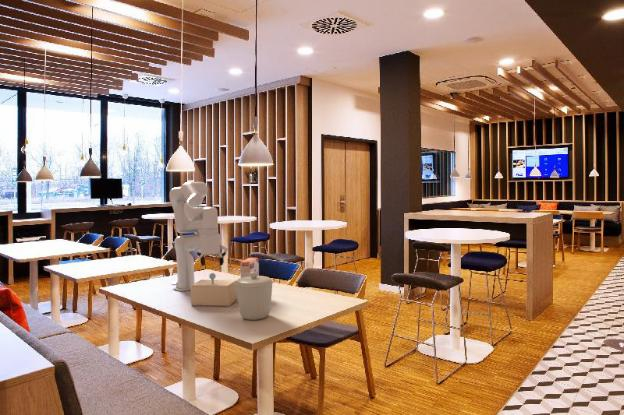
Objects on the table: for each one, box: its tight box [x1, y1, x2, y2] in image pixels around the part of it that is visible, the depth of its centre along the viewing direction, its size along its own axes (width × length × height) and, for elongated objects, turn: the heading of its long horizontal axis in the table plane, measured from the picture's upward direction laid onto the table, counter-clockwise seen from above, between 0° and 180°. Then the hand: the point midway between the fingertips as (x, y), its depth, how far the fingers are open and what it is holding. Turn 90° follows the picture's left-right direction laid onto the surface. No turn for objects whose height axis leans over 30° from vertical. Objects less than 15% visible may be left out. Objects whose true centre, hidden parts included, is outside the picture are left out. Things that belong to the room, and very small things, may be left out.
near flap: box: [191, 272, 232, 287], centre depth 230 cm, size 19×6×6 cm, turn 80°
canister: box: [234, 272, 275, 321], centre depth 207 cm, size 18×18×21 cm
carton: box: [190, 279, 238, 308], centre depth 233 cm, size 20×13×11 cm, turn 80°
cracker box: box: [239, 257, 260, 278], centre depth 241 cm, size 14×6×21 cm, turn 168°
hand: (212, 265), depth 230 cm, fingers open, 9 cm apart
